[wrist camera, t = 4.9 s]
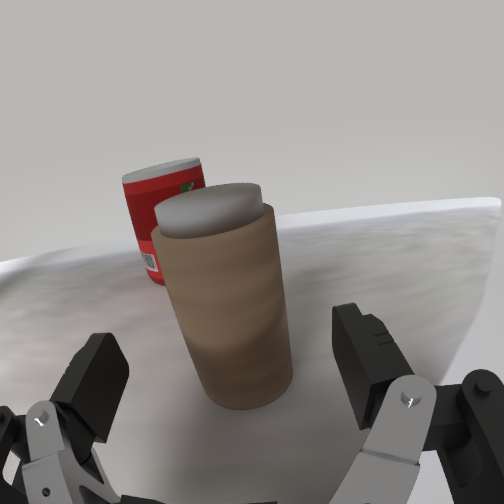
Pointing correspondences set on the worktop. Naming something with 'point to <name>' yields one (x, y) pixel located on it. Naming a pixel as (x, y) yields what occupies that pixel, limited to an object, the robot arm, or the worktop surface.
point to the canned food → (157, 201)
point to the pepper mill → (227, 290)
